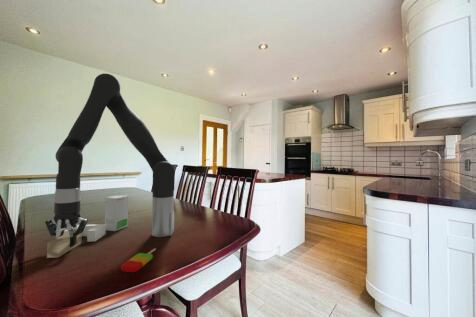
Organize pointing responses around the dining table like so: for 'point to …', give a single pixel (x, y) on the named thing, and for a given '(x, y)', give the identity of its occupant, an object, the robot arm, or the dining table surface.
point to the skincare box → (116, 212)
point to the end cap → (92, 231)
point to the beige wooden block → (61, 246)
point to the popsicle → (137, 262)
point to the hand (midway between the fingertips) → (66, 246)
